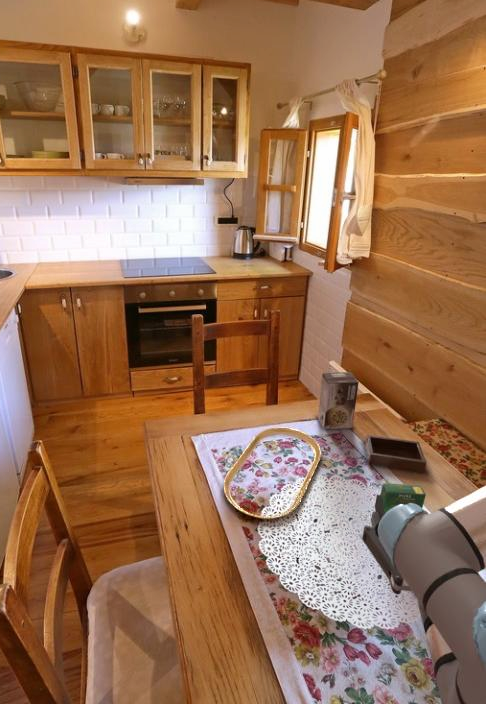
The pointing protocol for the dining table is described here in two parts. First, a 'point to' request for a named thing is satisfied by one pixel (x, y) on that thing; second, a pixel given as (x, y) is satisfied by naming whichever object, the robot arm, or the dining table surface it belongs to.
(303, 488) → the oval frame
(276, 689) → the dining table surface
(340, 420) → the coffee box
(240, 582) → the dining table surface
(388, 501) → the coffee box
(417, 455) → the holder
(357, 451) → the dining table surface
